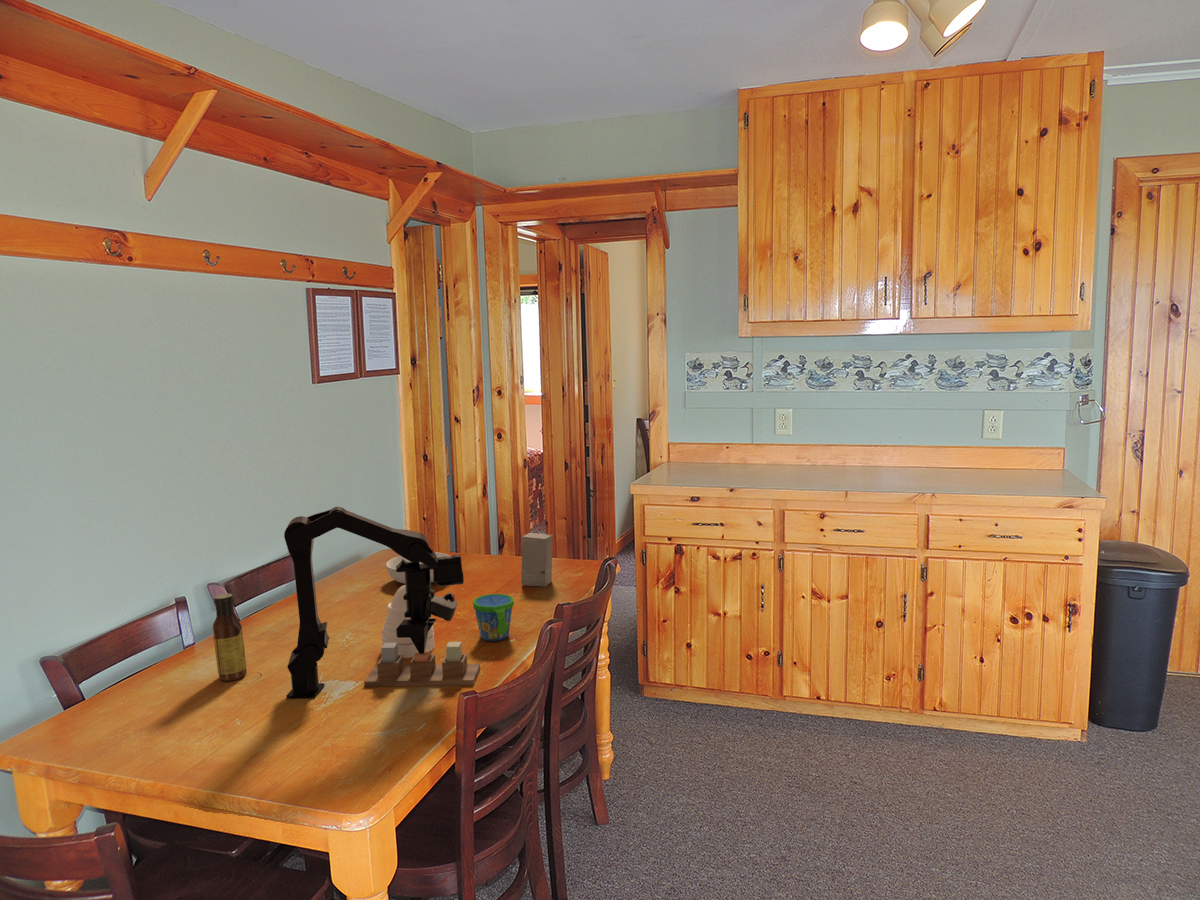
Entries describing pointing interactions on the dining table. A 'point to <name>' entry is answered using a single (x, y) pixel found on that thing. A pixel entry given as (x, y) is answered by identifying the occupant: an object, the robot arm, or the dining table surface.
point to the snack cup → (493, 616)
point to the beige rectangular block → (454, 651)
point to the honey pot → (394, 620)
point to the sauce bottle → (228, 640)
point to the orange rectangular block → (422, 656)
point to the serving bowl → (401, 575)
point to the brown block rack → (423, 673)
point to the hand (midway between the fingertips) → (421, 652)
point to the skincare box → (536, 559)
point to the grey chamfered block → (389, 652)
